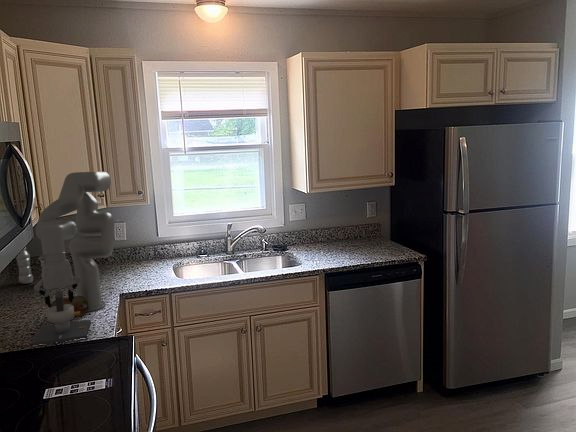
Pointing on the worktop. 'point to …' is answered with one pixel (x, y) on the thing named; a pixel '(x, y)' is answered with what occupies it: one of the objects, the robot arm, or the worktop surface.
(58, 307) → the rotary knob
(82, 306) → the tin
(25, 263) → the plastic bottle
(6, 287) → the worktop surface
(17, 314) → the worktop surface
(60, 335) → the mount
